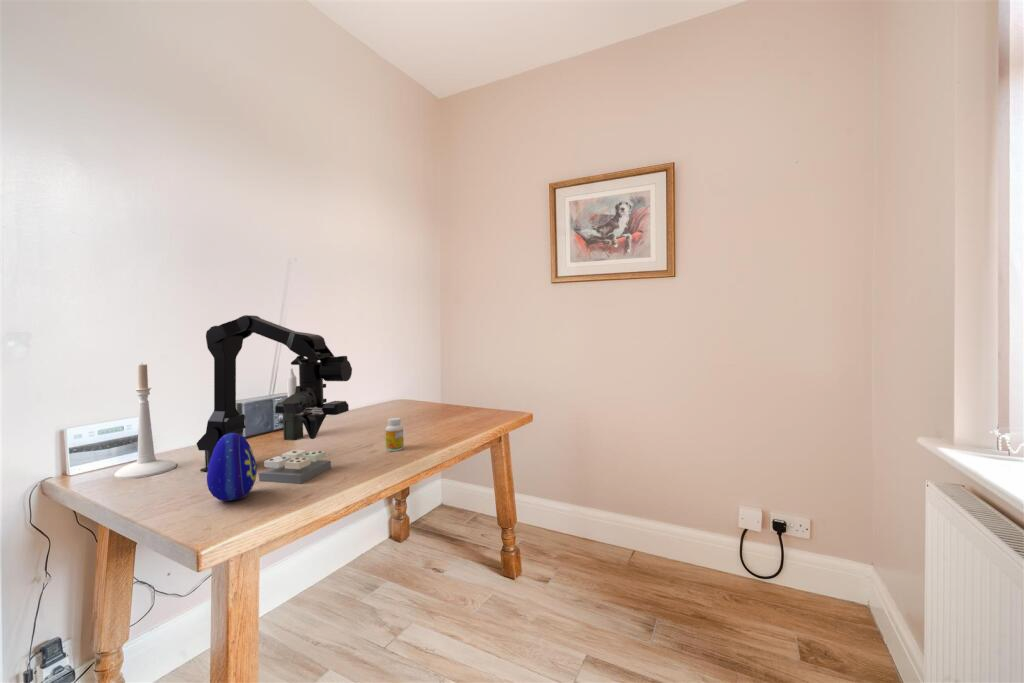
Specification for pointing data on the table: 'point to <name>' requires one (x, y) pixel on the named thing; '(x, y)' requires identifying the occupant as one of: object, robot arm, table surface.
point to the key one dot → (294, 453)
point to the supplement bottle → (394, 435)
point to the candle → (292, 414)
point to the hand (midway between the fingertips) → (312, 438)
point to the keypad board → (295, 473)
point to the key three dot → (314, 455)
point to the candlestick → (144, 438)
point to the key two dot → (276, 462)
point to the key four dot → (297, 463)
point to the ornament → (231, 468)
